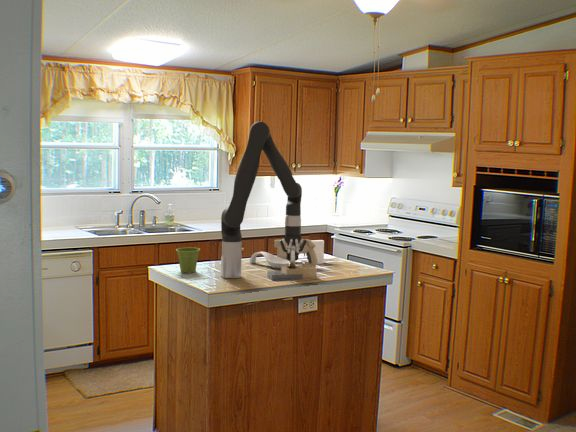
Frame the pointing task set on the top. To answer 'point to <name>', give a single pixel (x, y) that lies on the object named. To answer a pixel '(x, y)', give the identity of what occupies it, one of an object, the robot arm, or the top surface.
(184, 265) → the plant pot
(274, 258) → the spoon rest
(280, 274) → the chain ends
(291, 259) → the pin
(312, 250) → the gun
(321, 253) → the base with upright slab
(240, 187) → the robot arm
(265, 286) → the top surface
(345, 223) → the top surface
